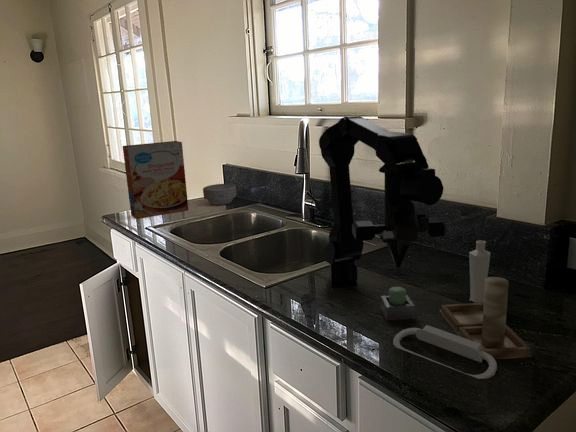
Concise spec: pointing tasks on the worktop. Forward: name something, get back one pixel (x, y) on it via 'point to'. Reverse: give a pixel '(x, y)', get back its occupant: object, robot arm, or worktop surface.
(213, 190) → the paper bowls
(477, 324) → the divided wooden tray
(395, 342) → the oval loop handle
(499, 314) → the wooden billet
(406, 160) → the robot arm
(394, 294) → the button
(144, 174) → the pasta box
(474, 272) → the perfume bottle
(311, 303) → the worktop surface
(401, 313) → the button housing
